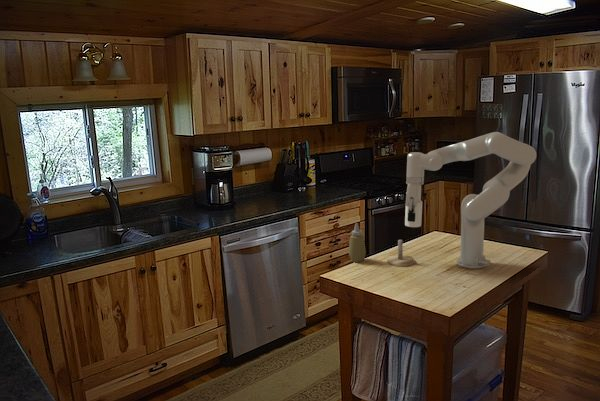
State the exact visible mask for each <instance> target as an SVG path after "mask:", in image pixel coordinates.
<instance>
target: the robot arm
mask: <svg viewBox="0 0 600 401" xmlns="http://www.w3.org/2000/svg"><path fill="white" fill-rule="evenodd" d="M492 154H494V155H496V156H498V157H499V158H503V159H505V160H507V161H509V163H508V164H507V165H506V167H505V168H503V169H502V170H501V171H499V173H497V174H495V176H494V177H491V179H489V180H487V181H486V182H485V183H484V184H483V187H482V191H481V192H480V193H479V194H476V193H470V194H468V195H465V196H464V198H463V199H462V201H461V205H460V213H461V217H460V218H461V226H460V227H461V229H460V258H458V259H457V260H456V264H457V265H458V266H459V267H461V268H465V269H472V270H473V269H474V270H476V269H483V268H485V267H489V266H490V264H491V260H490V259H486V255H485V254H484V245H485V244H484V243H485V242H484V240H485V219H486V218H487V217H488V216H490V215H491V214H493V213H494V212H495V211H497V210H498V209H500V208H501V207H502V206H504V205H505V204H506V202H507V201H508V200H509V198H510V195H511V194H510V193H511V191H512V190H513V189H514V188H515V187H516V186H517V185H519V184H520V183H521V182H523V180H524V179H525V178H526V177H527V176H528V173H529V171H530V168H531V166H532V164H533V163H535V161H536V159H537V152H536V149H535V148H534V147H533V146H531V145H530V144H527V143H524V142H522V141H519V140H518V139H514V138H512V137H511V136H507V135H506V134H504V133H502V132H499V131H493V132H489V133H486V134H483V135H480V136H477V137H474V138H471V139H468V140H464V141H460V142H456V143H454V144H450V145H447V146H443V147H441V148H440V147H439V148H437V149H434V150H430V151H429V152H428V153H423V152H419V151H417V152H415V151H413V152H409V153H408V154H407V157H406V160H407V161H406V181H405V184H406V185H407V187H406V196H405V207H406V206H408V204H409V208H408V221H410V222H415V207H417V204H418V202H419V201H422V200H421V198H422V186H423V185H424V182H425V181H424V180H425V170H426V171H433V172H435V171H438V170H440V169H441V168H442V167H443V165H446V164H449V163H453V162H459V161H461V162H467V161H473V160H476V159H478V158H481V157H486V156H488V155H492ZM413 203H414V206H412V204H413ZM412 207H413V208H414V209H413V208H412Z"/></svg>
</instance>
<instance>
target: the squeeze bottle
mask: <svg viewBox="0 0 600 401" xmlns="http://www.w3.org/2000/svg"><path fill="white" fill-rule="evenodd" d="M366 251H367V250H366V244H365V236H364V235H363V231H362V230H360V226H359V223H358V222H357V223H356V222H355V224H354V229H353V230H351V235H350V236H349V245H348V254H349V257H350V261H352V262H354V263H361V262H364V260H365V257H366V255H367V252H366Z"/></svg>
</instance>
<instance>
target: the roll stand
mask: <svg viewBox="0 0 600 401" xmlns="http://www.w3.org/2000/svg"><path fill="white" fill-rule="evenodd" d="M403 241H404V240H403V239H397V254H394V255H389V256H388V257H386V263H387V264H388V265H390V266H391V267H392V266H393V267H400V268H401V267H403V268H404V267H410V266H412V265H413V264H414V262H415V260H414V259H415V258H414V257H412V256H410V255H406V254H403V253H404V252H403V246H404V245H403V244H404V242H403Z"/></svg>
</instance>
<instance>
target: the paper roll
mask: <svg viewBox="0 0 600 401" xmlns="http://www.w3.org/2000/svg"><path fill="white" fill-rule="evenodd" d="M412 206H414V203H413V204H412ZM408 208H409V204H408V206H406V205H405V210H404V212H405V216H404V226H405V227H409V228H420V227H421V226H422V221H423V220H422V217H423V216H422V215H423V201H422V200H421V201H419V202H418V204H417V207H415V222H410V221H408ZM412 208H413V207H412ZM413 209H414V208H413Z"/></svg>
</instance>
